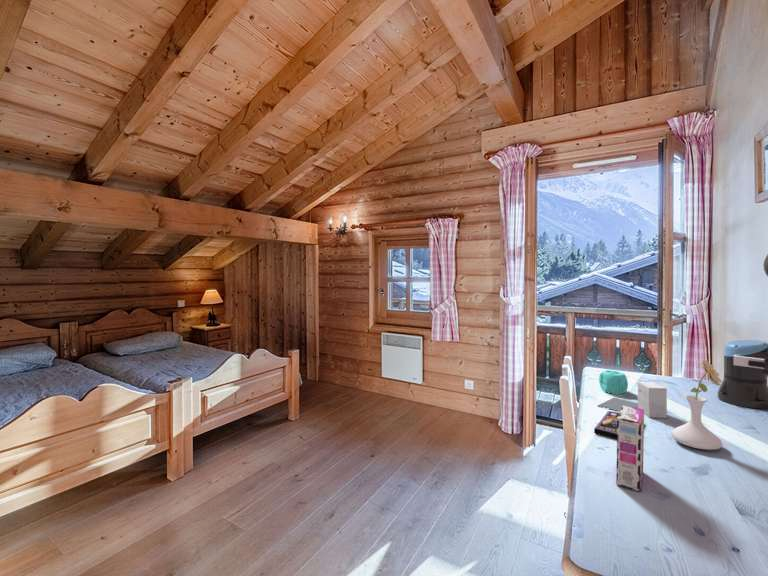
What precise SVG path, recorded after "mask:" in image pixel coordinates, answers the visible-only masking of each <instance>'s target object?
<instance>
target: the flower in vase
mask: <svg viewBox="0 0 768 576" xmlns="http://www.w3.org/2000/svg"><path fill="white" fill-rule="evenodd" d="M701 365H702V369H703V370H704V374H703V375H702V377H701V378H700V380H699V382H698V385H697V387H693V388H692V389H690V392H691V393H695V395H692V394H686V395H684V397H685V399H686V400H687V402H688V404H689V410H690V419H689V421H688V422H687V423H684V424H681V425H679V426H677V427H675V428H673V429H672V430H671V432H670V435H671V437H672V439H674V440H675V441H676V442H678V443H680V444H683V445H685V446H687V447H691V448H695V449H697V450H698V449H700V450H707V451H708V450H709V451H713V450H718V449H721V448H722V447H723V445H724V444H723V442H722V440H721V439H720V438H719V437H718V436H717V435H716V434H715V433H713V432H712V430H709V429H708V428H707V427H706V426H705V425H704V424H703V422H702V411H703V406H704V405H705V404H706V402H708V398H706V397H703V396H699V395H698V394H699V393H701V392H702V393H707V391H708V387H707V386H706V385H705V384H704V383H702V381H703V379H704V378H705V377H708V379H709V380H710V381H711V383H712V384H714V385H715V386H719V387H720V386H721V384H722V382H723V380H721V378H720V377H719V376H720V374H719V372H717V371H716V369H715V368H714V365H713V364H709V361H708V359H707V358H706V359H705V358H702V360H701Z"/></svg>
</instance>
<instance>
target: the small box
mask: <svg viewBox="0 0 768 576" xmlns="http://www.w3.org/2000/svg"><path fill="white" fill-rule="evenodd" d="M667 391H668V390H667V387H664V386H662V385H661V384H659V383H657V382H655V381H637V403H638V408H639V409H644V416H647V418H653V419H654V418H657V419H667V418H668V411H667V410H668V408H667V407H668V405H667V404H668V403H667V402H668V400H667V396H668V394H667Z"/></svg>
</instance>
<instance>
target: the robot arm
mask: <svg viewBox="0 0 768 576" xmlns="http://www.w3.org/2000/svg"><path fill="white" fill-rule="evenodd" d="M763 261H764V262H763V270H764V273H765V275H766V276H767V277H768V254H767V255H766V256H765V258H764V260H763ZM722 355H723V380H722V383H720V385H721V386H720V385H719V388H718V390H717V398H718V400H720V401H722V402H725V403H727V404H731V405H735V406H739V407H744V408H745V407H746V408H752V409H763V410H764V409H765V410H766V409H768V342H767V341H765V340H758V339H753V340H752V339H740V340H739V339H738V340H731V341H728V342H726V343H725V345H724V349H723V354H722Z"/></svg>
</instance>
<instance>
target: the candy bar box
mask: <svg viewBox="0 0 768 576" xmlns="http://www.w3.org/2000/svg"><path fill="white" fill-rule="evenodd" d="M618 413H619V415H618V417H617V439H616V481H615V484H616V485H617V486H619V487H623V488H626V489H628V488H629V490H631V489H633V490H632V491H634V490H637V491H636V492H638V491H639V493H640V492H641V488H642V480H643V476H644V439H645V437H644V436H645V435H644V434H645V414H644V409H639V408H634V407H628V406H622V408H621V410H620V412H618Z"/></svg>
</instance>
